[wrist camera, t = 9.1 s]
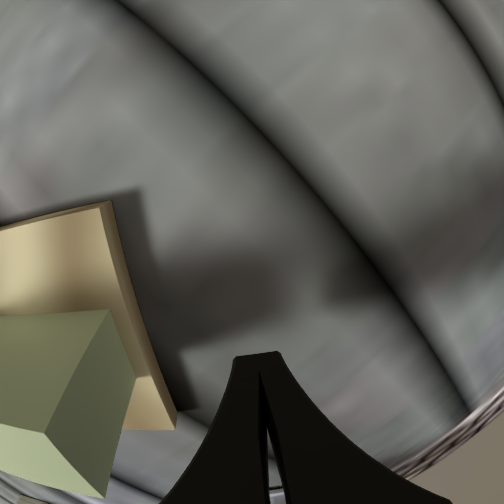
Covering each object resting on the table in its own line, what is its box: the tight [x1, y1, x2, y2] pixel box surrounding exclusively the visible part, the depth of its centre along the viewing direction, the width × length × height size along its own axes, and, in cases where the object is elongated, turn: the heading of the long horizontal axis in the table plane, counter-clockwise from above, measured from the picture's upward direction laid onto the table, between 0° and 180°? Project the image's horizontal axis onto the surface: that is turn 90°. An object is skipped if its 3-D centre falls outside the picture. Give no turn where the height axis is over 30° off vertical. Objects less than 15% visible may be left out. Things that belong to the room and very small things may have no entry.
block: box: [0, 309, 136, 499], centre depth 8 cm, size 8×4×6 cm, turn 96°
